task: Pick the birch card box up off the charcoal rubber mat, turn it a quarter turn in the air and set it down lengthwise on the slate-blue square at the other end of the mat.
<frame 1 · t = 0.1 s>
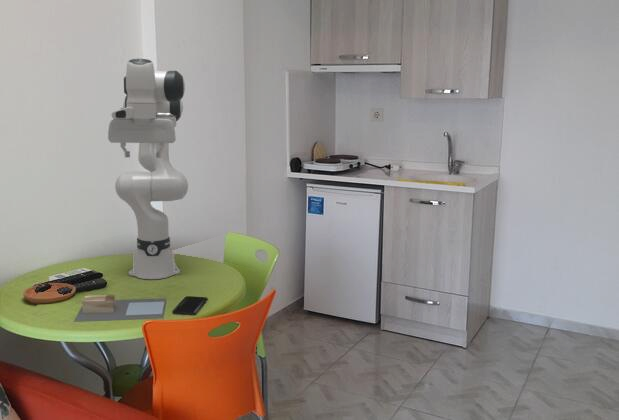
hand: (143, 157, 191), 48 cm above the table, fingers open, 8 cm apart
mat: (122, 311, 193), on the table
saucer: (50, 299, 203), on the table
card box: (99, 310, 191), point 1 cm above the table, touching mat
phone: (190, 308, 198), on the table
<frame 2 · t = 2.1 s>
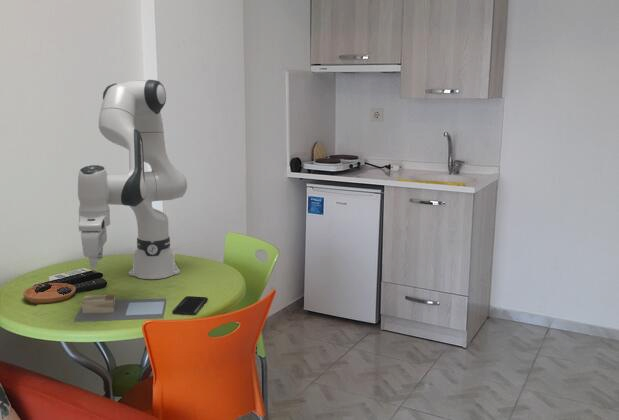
hand: (96, 263, 188), 16 cm above the table, fingers open, 8 cm apart
nothing on the table moved.
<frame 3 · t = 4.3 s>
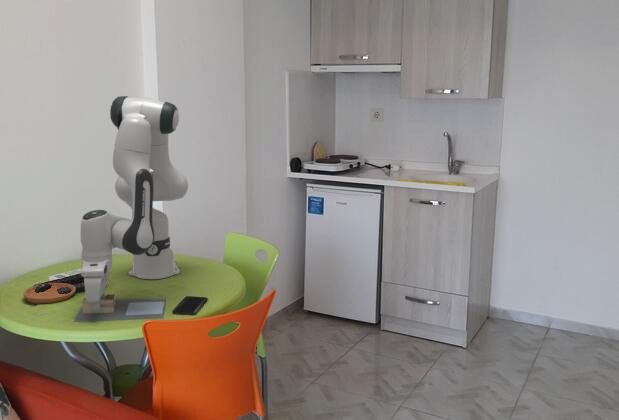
hand: (99, 305, 191), 2 cm above the table, fingers closed on card box, 5 cm apart
card box: (99, 310, 191), point 1 cm above the table, touching gripper, mat
everything else where it was.
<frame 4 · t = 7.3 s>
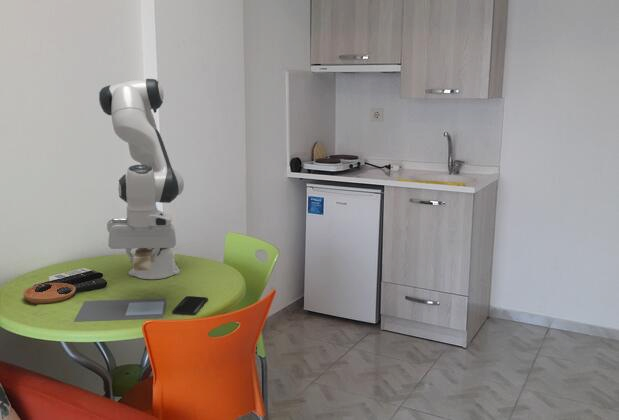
hand: (143, 261, 191), 16 cm above the table, fingers closed on card box, 5 cm apart
card box: (143, 266, 191), point 15 cm above the table, touching gripper
everything else where it was.
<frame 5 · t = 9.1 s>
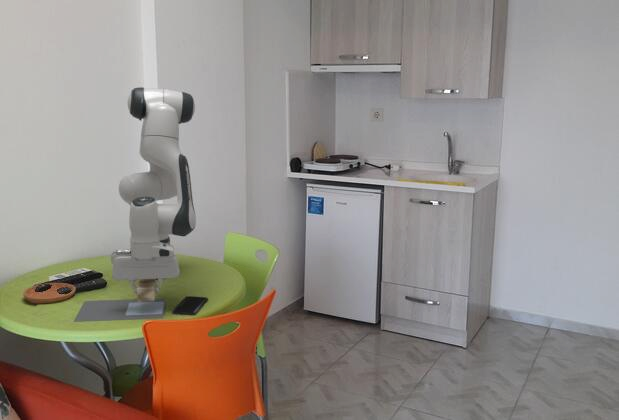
hand: (146, 292, 193), 6 cm above the table, fingers closed on card box, 5 cm apart
card box: (147, 296, 193), point 5 cm above the table, touching gripper
everything else where it was.
when the fingers open (3 cm above the table, at t = 10.6 s): card box drops 1 cm, resting on mat.
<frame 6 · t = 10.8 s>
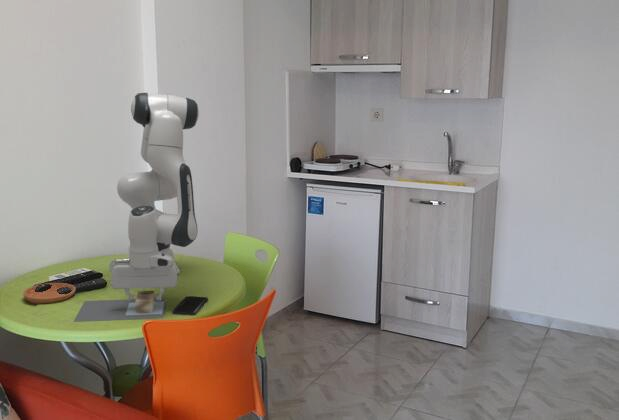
hand: (145, 300, 193), 3 cm above the table, fingers open, 7 cm apart
card box: (145, 308, 194), point 1 cm above the table, touching mat
everything else where it was.
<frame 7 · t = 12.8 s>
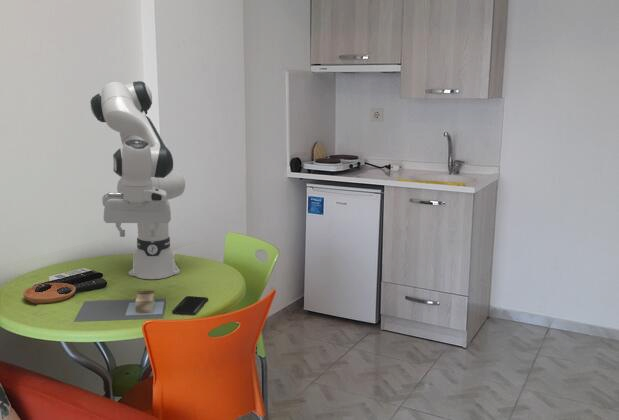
hand: (138, 236, 192), 23 cm above the table, fingers open, 8 cm apart
nothing on the table moved.
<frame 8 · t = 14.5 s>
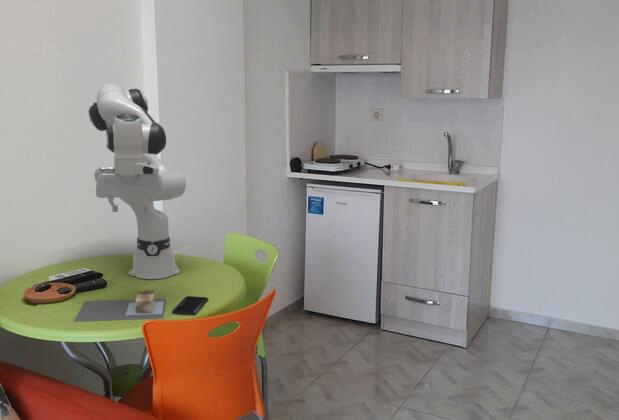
hand: (130, 211, 192), 31 cm above the table, fingers open, 8 cm apart
nothing on the table moved.
at the end: card box inside the target area (0.0 cm from its centre), point 0.7 cm above the table; card box tilted 0°; the gripper is holding nothing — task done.
